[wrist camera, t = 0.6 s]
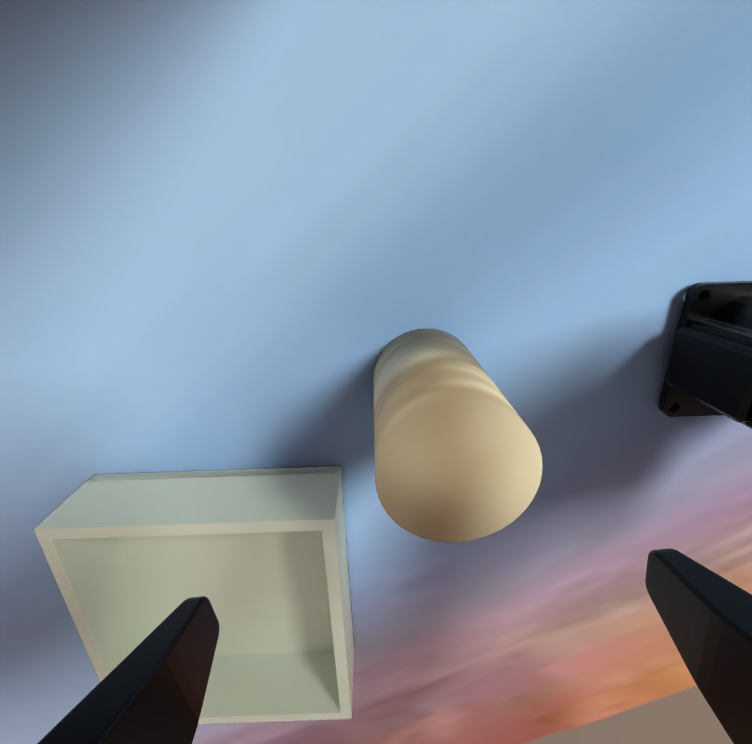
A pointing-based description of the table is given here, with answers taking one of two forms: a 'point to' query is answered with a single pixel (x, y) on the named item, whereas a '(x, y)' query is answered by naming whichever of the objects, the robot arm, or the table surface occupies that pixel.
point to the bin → (217, 580)
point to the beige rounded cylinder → (448, 442)
